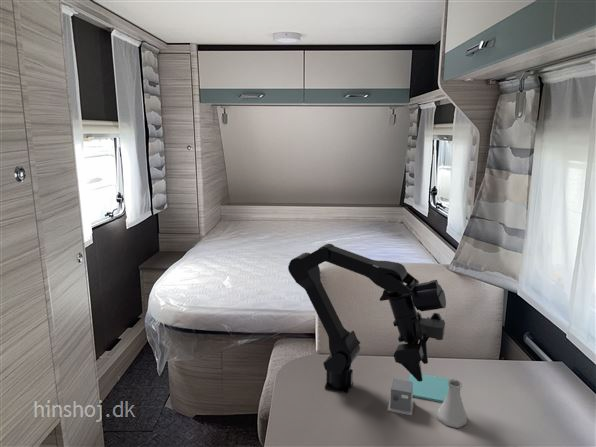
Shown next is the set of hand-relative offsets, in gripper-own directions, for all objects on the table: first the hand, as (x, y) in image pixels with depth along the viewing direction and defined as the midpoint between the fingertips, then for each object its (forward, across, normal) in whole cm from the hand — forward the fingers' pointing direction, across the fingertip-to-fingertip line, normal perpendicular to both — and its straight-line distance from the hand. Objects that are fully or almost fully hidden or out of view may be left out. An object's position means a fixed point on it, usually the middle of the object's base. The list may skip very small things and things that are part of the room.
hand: (423, 371), depth 111 cm
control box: (+8, 0, +8) cm, 12 cm away
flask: (+13, 0, -3) cm, 13 cm away
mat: (+10, +11, +3) cm, 15 cm away
